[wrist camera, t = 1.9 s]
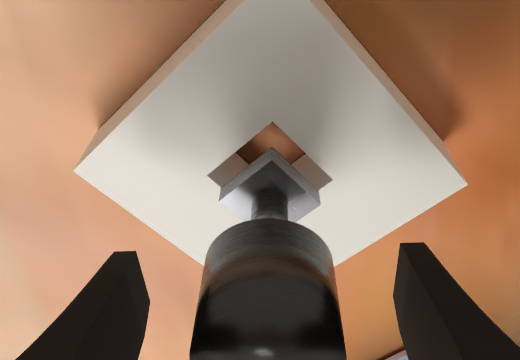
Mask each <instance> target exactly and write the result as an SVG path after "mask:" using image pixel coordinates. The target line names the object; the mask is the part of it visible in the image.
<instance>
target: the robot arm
mask: <svg viewBox="0 0 520 360" xmlns="http://www.w3.org/2000/svg"><path fill="white" fill-rule="evenodd" d="M393 298H394V304H395V309H396V315H397V320H398V325H399V330H400V334H401V337H402V340H403V344H404V347H405V350H404V351H401V352H399V353H397V354H395V355H393V356H391V357H389V358H387V359H385V360H520V347H519V346H518V345H517V344H515V343H514V342H513V341H512V340H511V339H510V338H509V337H508V336H507V335H506V334H505V333H504V332H503V331H502V330H501V329H500V328H499V327H498V326H497V325H496V324H495V323H494V322H493V321H492V320H491V319H490V318H489V317H488V316H487V315H486V314H485V313H484V312H483V311H482V310H481V309H480V308H479V307H478V306H477V305H476V303H475V302H474V301H473V300H472V299H471V298H470V297H469V296H468V295H467V293H466V292H465V291H464V290H463V289H462V288H461V287H460V286H459V284H458V283H457V282H456V281H455V280H454V279H453V277H452V276H451V275H450V274H449V273H448V271H447V270H446V269H445V268H444V267H443V265H442V264H441V263H440V262H439V260H438V259H437V258H436V257H435V255H434V254H433V253H432V251H431V250H430V249H429V248H428V246H427V245H426V244H425V243H424V242H422V243H400V249H399V256H398V264H397V271H396V278H395V285H394V293H393ZM149 306H150V299H149V296H148V292H147V289H146V285H145V282H144V278H143V275H142V271H141V267H140V264H139V260H138V257H137V253H136V251H124V252H114V253H113V254H112V255H111V256H110V257H109V258H108V259H107V261H106V262H105V263H104V264H103V265H102V267H101V268H100V269H99V270H98V272H97V273H96V274H95V275H94V276H93V278H92V279H91V280H90V281H89V282H88V284H87V285H86V286H85V287H84V288H83V289H82V291H81V292H80V293H79V294H78V295H77V296H76V298H75V299H74V300H73V301H72V302H71V303H70V304H69V305H68V307H67V308H66V309H65V310H64V311H63V312H62V313H61V314H60V316H59V317H58V318H57V319H56V320H55V321H54V322H53V323H52V324H51V325H50V326H49V327H48V328H47V329H46V330H45V331H44V332H43V333H42V334H41V335H40V336H39V338H38V339H36V340H35V341H34V342H33V343H32V344H31V345H30V346H29V347H28V348H27V349H26V350H25V351H24V352H23V353H22V354H21V355H20V356H19V357H18V358H17V359H15V360H138V357H139V354H140V350H141V347H142V343H143V340H144V336H145V330H146V325H147V319H148V312H149Z"/></svg>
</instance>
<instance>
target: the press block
mask: <svg viewBox="0 0 520 360" xmlns="http://www.w3.org/2000/svg"><path fill="white" fill-rule="evenodd" d="M272 121H273V122H274V123H275V124H276V125H277V126H278V127H279V128H280V129H281V130H282V131H283V132H284V133H285V134H286V135H287V136H288V137H289V138H290V139H291V140H292V141H293V142H294V143H295V144H296V145H297V146H299V147H300V148H301V149H302V150H303V151H304V152H305V153H306V154H304V155H303V156H302V157H301V158H299V159H298V160H297V161H295V162H294V163H293V164H291V165H292V166H293V167H294V168H295V169H296V170H297V171H298V172H299V173H300V174H301V175H302V176H303V177H305V178H306V179H307V180H308V181H309V182H310V183H311V184H312V185H313V186H314V187H315V188H316V189H317V190H318V191H319V196H320V203H321V205H320V206H319V207H317V208H316V209H314V210H313V211H311V212H310V213H308V214H307V215H306V216H304V217H303V218H301V219H300V220H298V221H297V222H295V223H298V224H300V225H303V226H305V227H307V228H309V229H310V230H312V231H313V232H315V233H316V234H317V235H319V236H320V237H321V239H322V240H323V241H324V242H325V243H326V245H327V246H328V248H329V250H330V252H331V255H332V258H333V265H334V267H335V266H337V265H338V264H340V263H341V262H343V261H345V260H346V259H348V258H350V257H351V256H353V255H354V254H356V253H358V252H359V251H361V250H363V249H364V248H366V247H367V246H369V245H371V244H372V243H374V242H376V241H377V240H379V239H380V238H382V237H384V236H385V235H387V234H389V233H390V232H392V231H393V230H395V229H397V228H398V227H400V226H402V225H403V224H405V223H406V222H408V221H410V220H411V219H413V218H415V217H416V216H418V215H419V214H421V213H423V212H424V211H426V210H428V209H429V208H431V207H432V206H434V205H436V204H437V203H439V202H441V201H442V200H444V199H445V198H447V197H449V196H450V195H452V194H454V193H455V192H457V191H458V190H460V189H462V188H463V187H465V186H467V185H468V184H467V182H466V180H465V179H464V177H463V175H462V173H461V172H460V170H459V168H458V166H457V165H456V163H455V161H454V159H453V158H452V156H451V154H450V152H449V151H448V149H447V147H446V145H445V144H444V142H443V141H442V140H441V139H440V137H439V136H438V135H437V134H436V133H435V131H434V130H433V129H432V128H431V127H430V125H429V124H428V123H427V122H426V121H425V120H424V118H423V117H422V116H421V115H420V114H419V112H418V111H417V110H416V109H415V108H414V107H413V105H412V104H411V103H410V102H409V101H408V99H407V98H406V97H405V96H404V95H403V93H402V92H401V91H400V90H399V89H398V88H397V86H396V85H395V84H394V83H393V82H392V80H391V79H390V78H389V77H388V76H387V75H386V73H385V72H384V71H383V70H382V69H381V67H380V66H379V65H378V64H377V63H376V61H375V60H374V59H373V58H372V57H371V56H370V54H369V53H368V52H367V51H366V50H365V48H364V47H363V46H362V45H361V44H360V42H359V41H358V40H357V39H356V38H355V37H354V35H353V34H352V33H351V32H350V31H349V29H348V28H347V27H346V26H345V25H344V24H343V22H342V21H341V20H340V19H339V18H338V16H337V15H336V14H335V13H334V12H333V10H332V9H331V8H330V7H329V6H328V5H327V3H326V2H325V1H324V0H226V1H225V2H224V3H223V4H222V5H221V6H220V7H219V8H218V9H217V10H216V11H215V12H214V13H213V14H212V15H211V16H210V17H209V18H208V19H207V20H206V21H205V22H204V23H203V24H202V25H201V26H200V27H199V28H198V29H197V30H196V31H195V32H194V33H193V34H192V35H191V36H190V37H189V38H188V39H187V40H186V41H185V42H184V43H183V44H182V45H181V46H180V47H179V48H178V49H177V51H176V52H175V53H174V54H173V55H172V56H171V57H170V58H169V59H168V60H167V61H166V62H165V63H164V64H163V65H162V66H161V67H160V68H159V69H158V70H157V71H156V72H155V73H154V74H153V75H152V76H151V77H150V78H149V79H148V80H147V81H146V82H145V83H144V84H143V85H142V86H141V87H140V88H139V89H138V90H137V91H136V92H135V93H134V94H133V95H132V96H131V97H130V98H129V99H128V100H127V101H126V102H125V103H124V104H123V105H122V106H121V107H120V108H119V109H118V110H117V111H116V112H115V113H114V115H113V116H112V117H111V118H110V119H109V120H108V121H107V122H106V123H105V124H104V125H103V126H102V127H101V128H100V129H99V130H98V131H97V133H96V134H95V136H94V137H93V139H92V141H91V142H90V144H89V145H88V147H87V149H86V150H85V152H84V154H83V155H82V157H81V158H80V160H79V162H78V163H77V165H76V166H75V168H74V170H73V171H74V172H75V173H76V174H78V175H79V176H80V177H82V178H83V179H85V180H86V181H87V182H89V183H90V184H91V185H93V186H94V187H95V188H97V189H98V190H100V191H101V192H102V193H104V194H105V195H106V196H108V197H109V198H111V199H112V200H113V201H115V202H116V203H117V204H119V205H120V206H122V207H123V208H124V209H126V210H127V211H128V212H130V213H131V214H133V215H134V216H135V217H137V218H138V219H139V220H141V221H142V222H144V223H145V224H146V225H148V226H149V227H150V228H152V229H153V230H155V231H156V232H157V233H159V234H160V235H161V236H163V237H164V238H165V239H167V240H168V241H170V242H171V243H172V244H174V245H175V246H176V247H178V248H179V249H181V250H182V251H183V252H185V253H186V254H187V255H189V256H190V257H192V258H193V259H194V260H196V261H197V262H198V263H200V264H201V265H203V266H204V263H205V258H206V254H207V251H208V249H209V247H210V245H211V244H212V242H213V241H214V240H215V239H216V237H217V236H219V235H220V234H221V233H222V232H224V231H225V230H227V229H228V228H230V227H232V226H234V225H236V224H239V223H242V222H243V221H242V220H241V219H240V218H238V217H237V216H236V215H235V214H233V213H232V212H231V211H230V210H228V209H227V208H226V207H225V206H224V205H222V204H221V203H220V202H219V196H220V189H221V187H222V186H223V185H225V184H226V183H227V182H228V181H230V180H231V179H232V178H233V177H235V176H236V175H237V174H238V173H240V172H241V171H242V170H243V169H245V168H246V167H247V166H248V165H249V164H248V163H247V162H246V161H244V160H243V159H242V158H241V157H240V156H239V155H238V154H237V153H235V152H236V151H237V150H238V149H240V148H241V147H242V146H243V145H244V144H246V143H247V142H248V141H249V140H251V139H252V138H253V137H254V136H255V135H257V134H258V133H259V132H260V131H261V130H263V129H264V128H265V127H266V126H268V125H269V124H270V123H271V122H272Z"/></svg>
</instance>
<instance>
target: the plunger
mask: <svg viewBox="0 0 520 360" xmlns="http://www.w3.org/2000/svg"><path fill="white" fill-rule="evenodd" d="M219 202H220V203H221V204H222V205H224V206H225V207H226V208H227V209H228V210H230V211H231V212H232V213H233V214H235V215H236V216H237V217H238V218H240V219H241V220H242V221H243V222H242V223H239V224H236V225H234V226H232V227H230V228H228V229H227V230H225V231H224V232H222V233H221V234H220V235H219V236H217V237H216V239H215V240H214V241H213V242H212V244H211V245H210V247H209V249H208V251H207V254H206V258H205V263H204V269H203V275H202V281H201V287H200V293H199V299H198V305H197V311H196V317H195V323H194V329H193V335H192V341H191V347H190V360H346V350H345V343H344V336H343V329H342V322H341V315H340V307H339V300H338V293H337V286H336V279H335V272H334V265H333V258H332V255H331V252H330V250H329V248H328V246H327V245H326V243H325V242H324V241H323V240H322V239H321V237H320V236H319V235H317V234H316V233H315V232H313V231H312V230H310V229H309V228H307V227H305V226H303V225H300V224H298V223H295V222H297V221H298V220H300V219H301V218H303V217H304V216H306V215H307V214H308V213H310V212H311V211H313V210H314V209H316V208H317V207H319V206H320V205H321V203H320V196H319V191H318V190H317V189H316V188H315V187H314V186H313V185H312V184H311V183H310V182H309V181H308V180H307V179H306V178H305V177H303V176H302V175H301V174H300V173H299V172H298V171H297V170H296V169H295V168H294V167H293V166H292V165H291V164H290V163H288V162H287V161H286V160H285V159H284V158H283V157H282V156H281V155H280V154H279V153H278V152H277V151H276V150H274V149H273V148H272V147H271V148H270V149H269V150H267V151H266V152H265V153H263V154H262V155H261V156H260V157H258V158H257V159H256V160H255V161H253V162H252V163H251V164H250V165H248V166H247V167H246V168H245V169H243V170H242V171H241V172H240V173H238V174H237V175H236V176H235V177H233V178H232V179H231V180H230V181H228V182H227V183H226V184H225V185H223V186H222V187H221V189H220V196H219Z"/></svg>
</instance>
